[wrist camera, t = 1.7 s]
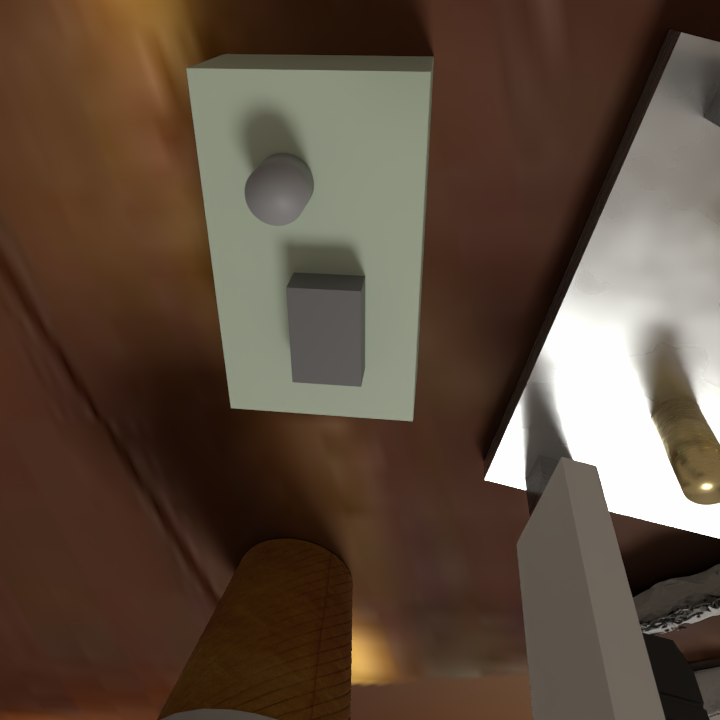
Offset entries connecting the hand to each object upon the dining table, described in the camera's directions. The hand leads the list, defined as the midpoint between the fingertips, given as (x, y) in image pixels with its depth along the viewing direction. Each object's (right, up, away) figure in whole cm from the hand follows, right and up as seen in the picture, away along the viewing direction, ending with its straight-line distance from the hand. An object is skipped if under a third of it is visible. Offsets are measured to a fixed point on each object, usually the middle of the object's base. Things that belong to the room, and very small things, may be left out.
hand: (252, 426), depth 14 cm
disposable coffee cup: (-1, -10, +21) cm, 24 cm away
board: (+1, +7, +11) cm, 13 cm away
